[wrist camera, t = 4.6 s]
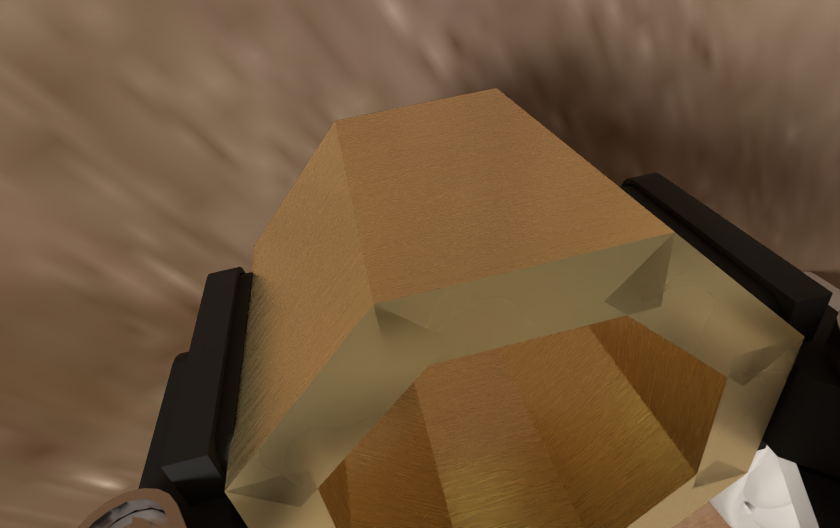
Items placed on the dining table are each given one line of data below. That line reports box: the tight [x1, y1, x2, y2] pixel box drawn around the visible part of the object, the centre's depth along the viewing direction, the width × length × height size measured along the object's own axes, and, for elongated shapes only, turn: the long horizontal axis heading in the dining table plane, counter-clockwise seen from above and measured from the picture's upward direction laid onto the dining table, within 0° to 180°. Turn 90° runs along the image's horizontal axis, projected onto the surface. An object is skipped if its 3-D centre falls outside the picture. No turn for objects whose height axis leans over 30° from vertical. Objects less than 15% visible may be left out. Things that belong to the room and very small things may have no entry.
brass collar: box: [225, 88, 805, 528], centre depth 8 cm, size 7×7×5 cm
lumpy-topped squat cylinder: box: [709, 272, 840, 528], centre depth 27 cm, size 10×13×9 cm
